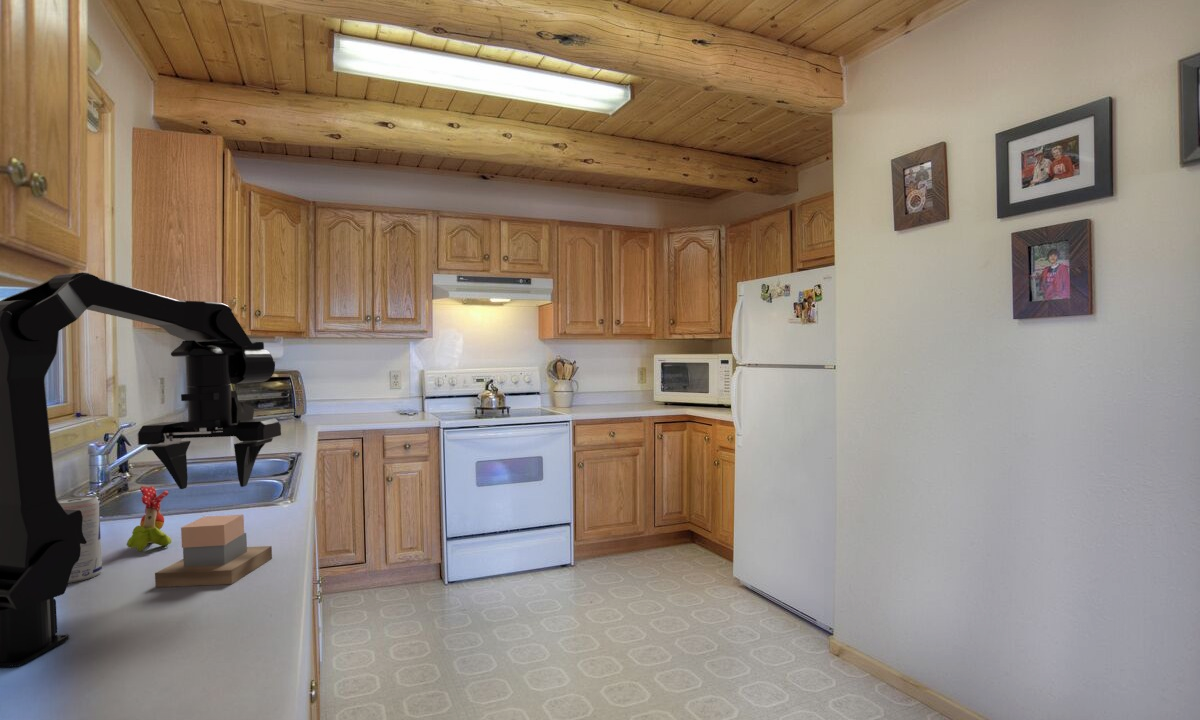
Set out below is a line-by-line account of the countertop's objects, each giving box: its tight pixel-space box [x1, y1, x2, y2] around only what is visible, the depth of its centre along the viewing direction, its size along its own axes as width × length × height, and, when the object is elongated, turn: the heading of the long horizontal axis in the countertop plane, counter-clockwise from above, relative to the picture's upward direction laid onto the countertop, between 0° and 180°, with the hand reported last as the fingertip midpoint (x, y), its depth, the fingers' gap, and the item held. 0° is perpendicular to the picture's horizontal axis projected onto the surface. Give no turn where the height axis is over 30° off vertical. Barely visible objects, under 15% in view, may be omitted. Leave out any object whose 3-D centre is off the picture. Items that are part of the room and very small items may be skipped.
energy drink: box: [57, 494, 103, 584], centre depth 93 cm, size 5×5×12 cm
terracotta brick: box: [180, 514, 245, 549], centre depth 93 cm, size 6×6×3 cm
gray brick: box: [182, 532, 248, 567], centre depth 94 cm, size 6×6×3 cm
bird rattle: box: [125, 486, 172, 552], centre depth 109 cm, size 6×11×9 cm
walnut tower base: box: [154, 545, 273, 588], centre depth 94 cm, size 11×11×2 cm
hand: (213, 487), depth 94 cm, fingers open, 9 cm apart
